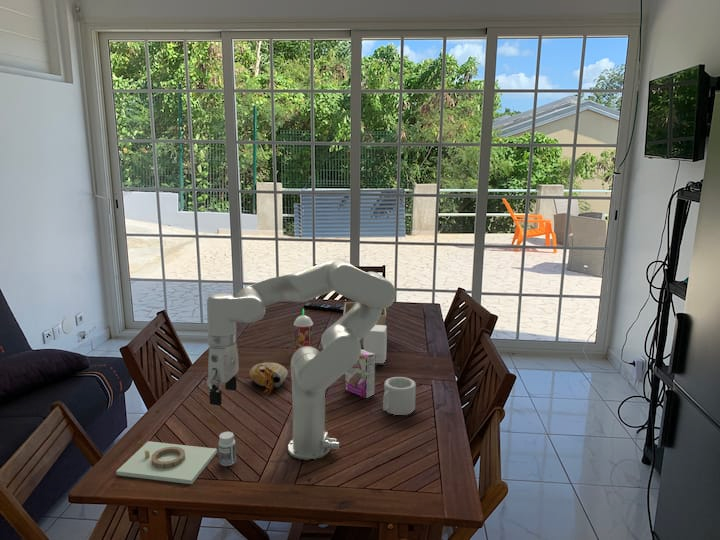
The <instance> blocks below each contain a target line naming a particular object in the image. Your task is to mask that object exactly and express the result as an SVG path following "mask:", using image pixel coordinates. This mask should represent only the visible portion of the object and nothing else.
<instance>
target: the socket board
mask: <svg viewBox="0 0 720 540" xmlns="http://www.w3.org/2000/svg"><path fill="white" fill-rule="evenodd" d="M217 453H218V449H217V448H215V447H213V448H212V447H202V446H195V445H188V444H187V445H186V444H185V445H184V444H176V443H167V442H160V441H159V442H158V441H150V440H148V441H146V443H144V444H143V445H142V447H140V448H139V450H137V451H136V452H135V453H134V454H133V455H132V456H131V457H129V459H128V460H126V462H124V463H123V464H122V465H121V466H120V467H119V468H118V469H117V470H116V476H122V477H128V478H129V477H130V478H136V479H137V478H139V479H147V480H154V481H162V482H169V483H179V484H187V485H193V483H194V482H195V481H196V480H197V478H198V477H199V476H200V475H201V473H202V472H203V471H204V470H205V468H206V467H207V466H208V465H209V464H210V462H211V461H212V460H213V459H214V457H215V456H216V455H217Z"/></svg>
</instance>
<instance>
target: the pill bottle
mask: <svg viewBox="0 0 720 540" xmlns="http://www.w3.org/2000/svg"><path fill="white" fill-rule="evenodd" d="M218 437H219V439H218V440H219V441H218V445H217V446H218V459H219V460H218V461H219V464H220V465H221V466H223V467H229V466H232V465H235V463H236V462H237V448H236V447H237V446H236V439H235V434H234V433H233V432H232V431H224V432H221V433H220V434H219V436H218Z"/></svg>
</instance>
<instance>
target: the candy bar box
mask: <svg viewBox="0 0 720 540" xmlns="http://www.w3.org/2000/svg"><path fill="white" fill-rule="evenodd" d="M375 379H376V365H375V354H374V353H371V352H368V351H365V350H363V349H362V348H361V354H360V357H359V359H358V361H357V362H356V363H355V365H354V366H353V367H352V368H351V369H349V370H348V371H347V372H346V373H345V374H344V390H345V389H346V390H347V391H346V390H345V391H346V392H348V391H350V392H349V393H351V392H352V393H351V394H353V393H355V394H357V395H356V396H358V395H360V396H362V397H364V398H368V397H370V396H372V395H374V394H376V393H375V389H376V388H375V386H376V385H375V384H376V382H375V381H376V380H375ZM355 394H354V395H355ZM360 396H359V397H360ZM374 396H375V395H374ZM362 397H361V398H362ZM372 397H373V396H372ZM364 398H363V399H364ZM370 398H371V397H370ZM368 399H369V398H368Z"/></svg>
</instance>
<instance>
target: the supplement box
mask: <svg viewBox="0 0 720 540" xmlns="http://www.w3.org/2000/svg"><path fill="white" fill-rule="evenodd" d="M387 332H388V326H387V325H386V324H385V325H375V326H374V327H373V328H372V329H371V330H370V331H369V332H368V333H367V334H366V335H365V336H364V337H363V347H362V348H363V350H365V351H368V352H371V353H374V354H375V363H384V362H385V363H386V361H385V360H387V345H388V343H387V340H388V337H387V336H388V335H387V334H388V333H387Z"/></svg>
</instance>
